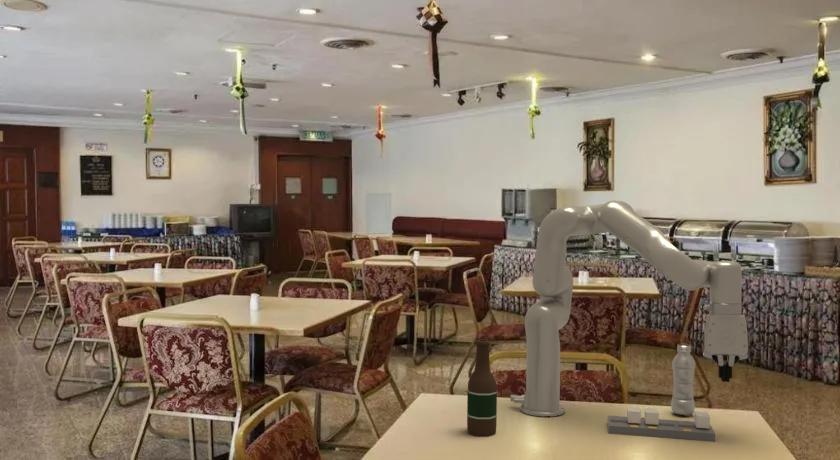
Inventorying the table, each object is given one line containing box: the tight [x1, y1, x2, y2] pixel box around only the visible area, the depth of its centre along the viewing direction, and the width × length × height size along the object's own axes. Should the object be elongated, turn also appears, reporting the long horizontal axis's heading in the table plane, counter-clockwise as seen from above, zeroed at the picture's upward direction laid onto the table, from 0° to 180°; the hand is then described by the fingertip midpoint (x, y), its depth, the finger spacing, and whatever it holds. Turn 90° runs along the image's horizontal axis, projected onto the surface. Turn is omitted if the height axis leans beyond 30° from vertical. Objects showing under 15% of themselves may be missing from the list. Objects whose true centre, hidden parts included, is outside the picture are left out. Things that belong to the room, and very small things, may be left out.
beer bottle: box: [466, 338, 498, 437], centre depth 191 cm, size 8×8×24 cm
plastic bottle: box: [670, 343, 696, 417], centre depth 211 cm, size 6×7×20 cm
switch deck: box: [607, 415, 716, 442], centre depth 194 cm, size 26×10×2 cm, turn 77°
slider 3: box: [693, 411, 711, 429], centre depth 192 cm, size 3×4×3 cm
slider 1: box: [626, 406, 642, 424], centre depth 195 cm, size 3×4×3 cm
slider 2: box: [643, 407, 660, 425], centre depth 194 cm, size 3×4×3 cm
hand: (725, 380), depth 190 cm, fingers closed
